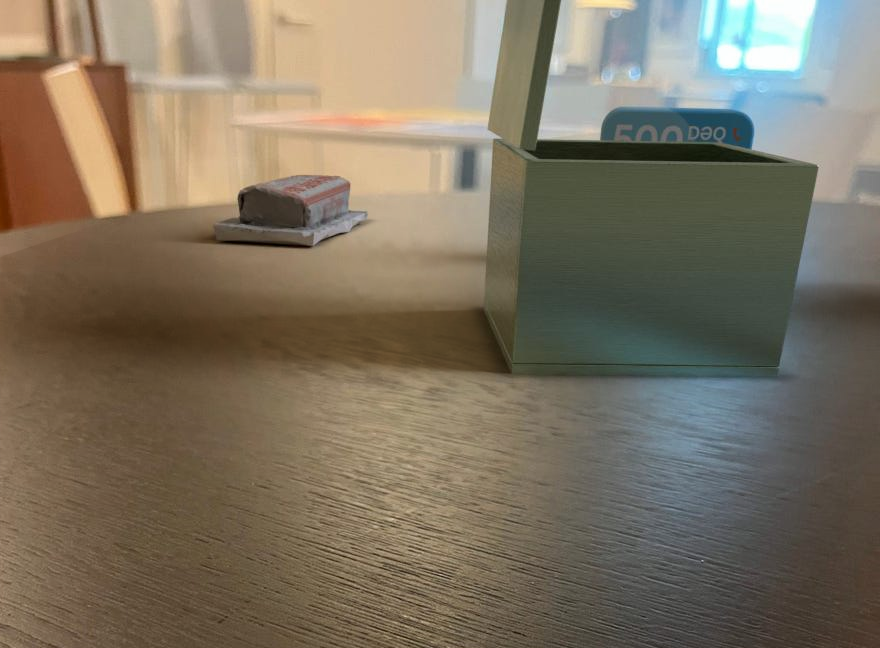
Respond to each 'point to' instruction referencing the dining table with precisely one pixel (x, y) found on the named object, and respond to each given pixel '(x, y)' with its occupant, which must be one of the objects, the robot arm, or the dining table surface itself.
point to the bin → (643, 256)
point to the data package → (678, 125)
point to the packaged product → (292, 211)
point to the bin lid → (523, 70)
